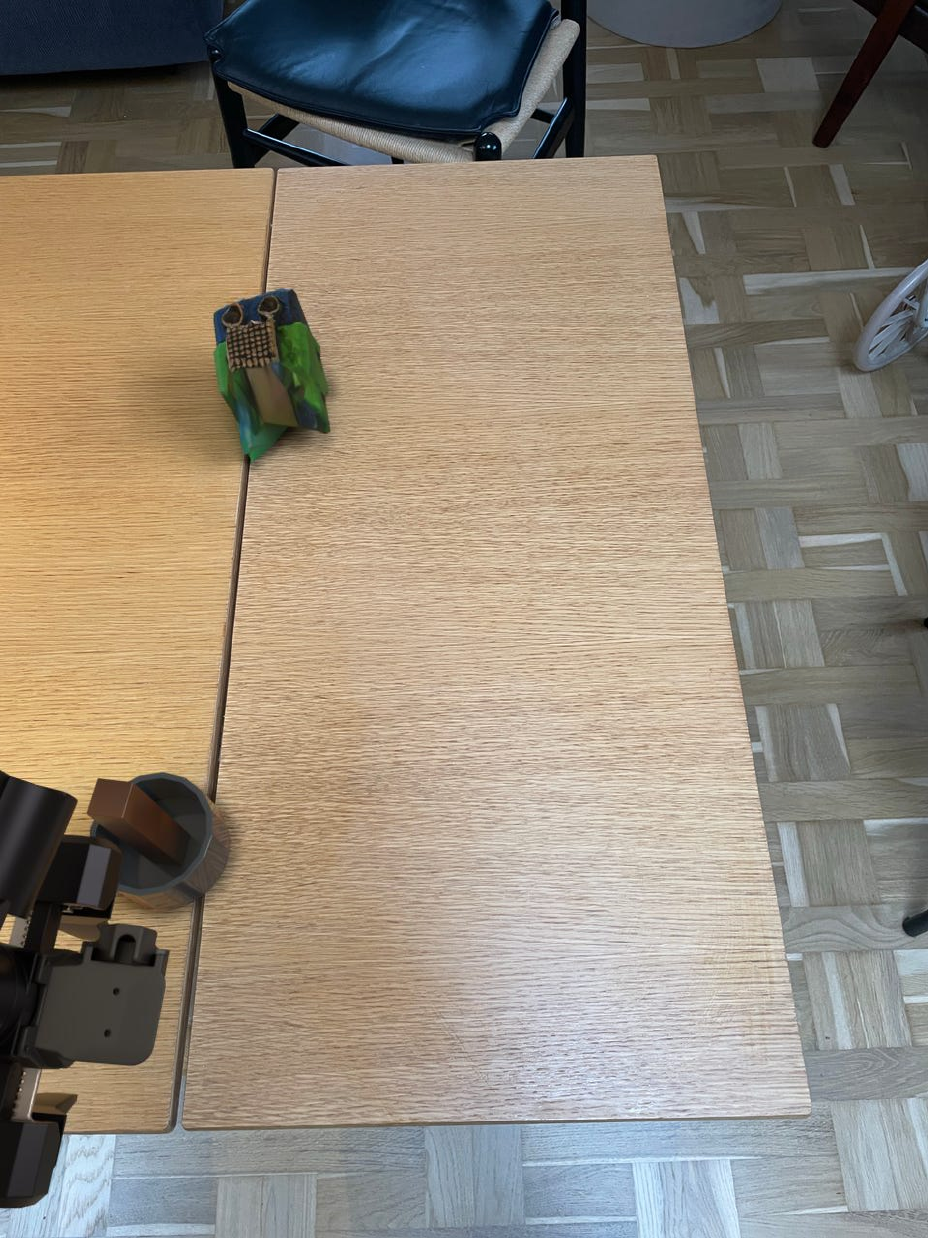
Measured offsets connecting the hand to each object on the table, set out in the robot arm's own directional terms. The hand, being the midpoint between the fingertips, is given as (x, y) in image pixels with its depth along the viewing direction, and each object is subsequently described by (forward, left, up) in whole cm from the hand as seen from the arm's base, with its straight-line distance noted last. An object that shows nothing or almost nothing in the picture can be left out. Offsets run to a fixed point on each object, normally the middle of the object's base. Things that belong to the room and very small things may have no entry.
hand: (87, 1016), depth 62 cm
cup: (+11, +9, -13) cm, 19 cm away
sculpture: (+50, +32, -13) cm, 60 cm away
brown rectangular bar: (+11, +9, -12) cm, 18 cm away
